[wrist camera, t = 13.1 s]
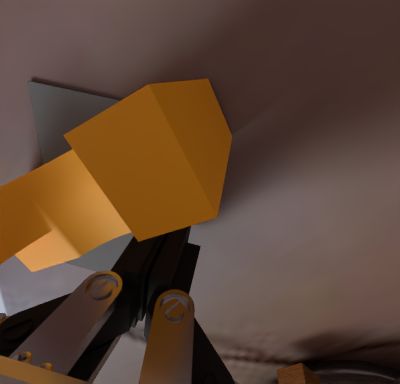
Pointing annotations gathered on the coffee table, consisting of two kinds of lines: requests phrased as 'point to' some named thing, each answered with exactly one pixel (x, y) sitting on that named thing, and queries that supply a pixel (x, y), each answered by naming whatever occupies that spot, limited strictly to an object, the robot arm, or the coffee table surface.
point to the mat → (57, 145)
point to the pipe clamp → (122, 177)
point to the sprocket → (326, 377)
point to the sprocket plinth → (352, 369)
